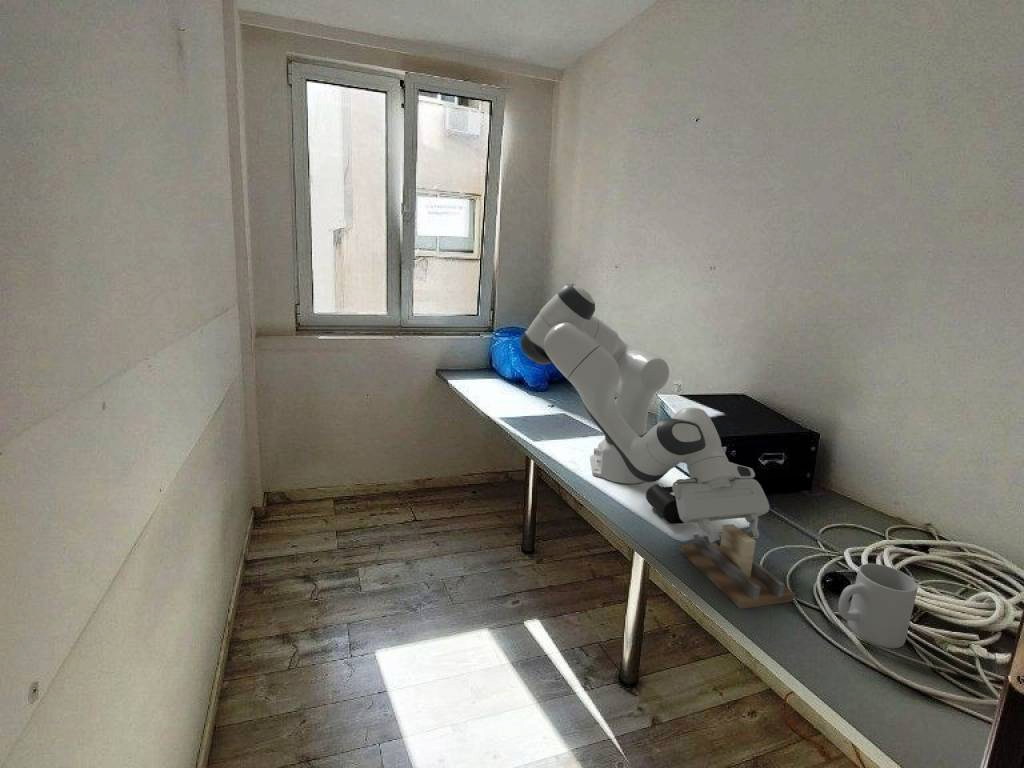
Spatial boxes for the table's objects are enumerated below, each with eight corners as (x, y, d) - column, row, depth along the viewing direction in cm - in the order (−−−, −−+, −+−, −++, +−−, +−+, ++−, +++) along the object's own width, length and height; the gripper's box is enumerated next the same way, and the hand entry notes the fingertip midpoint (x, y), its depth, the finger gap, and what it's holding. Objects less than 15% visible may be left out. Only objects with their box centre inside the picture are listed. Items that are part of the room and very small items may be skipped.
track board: (681, 551, 114) (683, 535, 113) (727, 546, 117) (729, 530, 116) (740, 608, 95) (743, 590, 94) (793, 600, 98) (797, 582, 97)
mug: (878, 614, 95) (890, 562, 93) (917, 648, 87) (932, 591, 84) (818, 616, 94) (828, 563, 92) (852, 650, 86) (865, 593, 83)
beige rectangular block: (718, 559, 109) (723, 525, 107) (728, 557, 110) (732, 524, 108) (740, 578, 102) (745, 542, 101) (750, 576, 103) (755, 541, 101)
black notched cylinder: (644, 507, 135) (646, 483, 134) (668, 506, 137) (671, 482, 135) (661, 526, 126) (664, 500, 124) (688, 524, 127) (691, 499, 125)
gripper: (676, 474, 107) (698, 540, 100) (759, 468, 112) (785, 530, 105) (663, 485, 113) (683, 548, 106) (743, 479, 118) (767, 539, 111)
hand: (735, 539), depth 106 cm, fingers open, 8 cm apart
